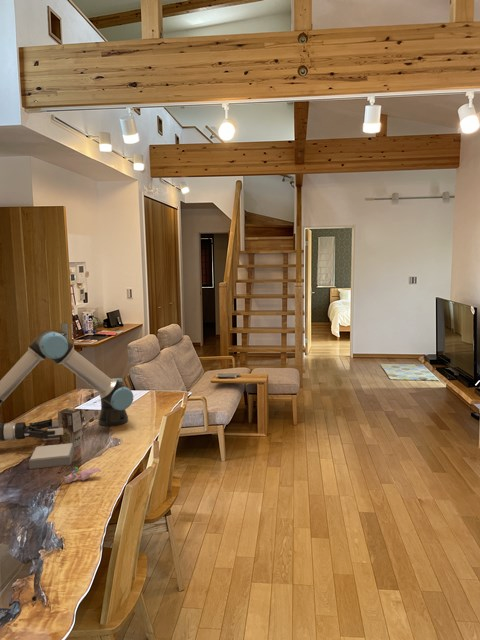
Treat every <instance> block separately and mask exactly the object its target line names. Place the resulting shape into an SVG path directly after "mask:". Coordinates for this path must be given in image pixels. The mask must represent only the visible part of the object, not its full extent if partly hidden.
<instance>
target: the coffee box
mask: <svg viewBox="0 0 480 640" xmlns="http://www.w3.org/2000/svg"><path fill="white" fill-rule="evenodd" d="M82 412H83V411H82V409H78V408H77V409H76V408H64V409H62V410H60V411H57V420H58V424H59V428H63V435H59V436H60V439H59V444H69V443H72V444H74V448H77V447H79V446H82V445H83V444H84V441H85V440H84V431H83V428H84V427H83V415H82V414H83V413H82Z"/></svg>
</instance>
